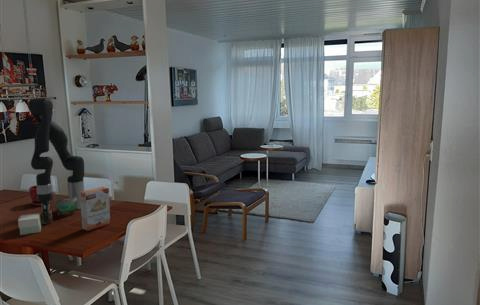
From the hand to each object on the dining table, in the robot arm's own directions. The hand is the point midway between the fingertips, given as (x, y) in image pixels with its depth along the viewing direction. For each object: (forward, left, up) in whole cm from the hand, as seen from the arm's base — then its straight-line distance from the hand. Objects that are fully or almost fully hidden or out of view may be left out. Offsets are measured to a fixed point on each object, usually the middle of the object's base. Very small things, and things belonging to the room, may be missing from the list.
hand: (46, 219), depth 203 cm
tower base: (+7, +11, -2) cm, 13 cm away
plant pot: (+5, -40, -2) cm, 40 cm away
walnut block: (0, 0, -1) cm, 1 cm away
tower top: (+7, +11, +2) cm, 13 cm away
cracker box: (-25, +19, -2) cm, 32 cm away
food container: (-10, -8, -2) cm, 13 cm away
